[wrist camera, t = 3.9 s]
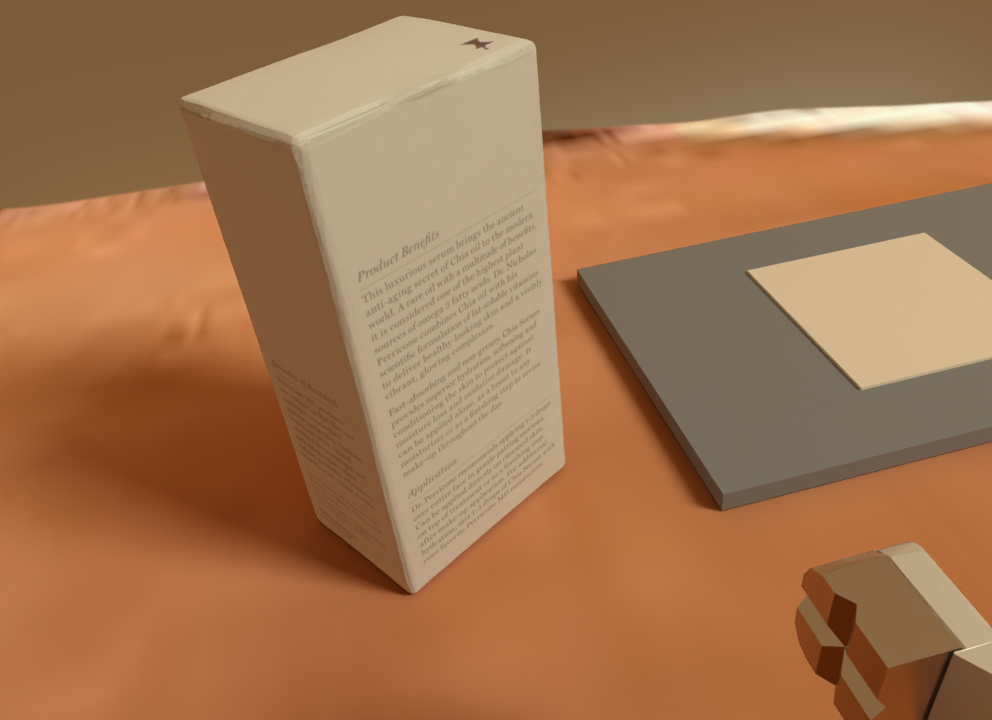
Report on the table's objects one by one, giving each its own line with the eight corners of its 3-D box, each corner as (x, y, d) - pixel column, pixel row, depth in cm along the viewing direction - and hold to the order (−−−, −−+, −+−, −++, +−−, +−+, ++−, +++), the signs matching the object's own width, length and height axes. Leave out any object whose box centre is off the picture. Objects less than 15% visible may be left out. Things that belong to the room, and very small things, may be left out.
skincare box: (464, 408, 27) (406, 9, 20) (569, 469, 24) (546, 36, 17) (306, 522, 23) (167, 93, 16) (408, 605, 21) (298, 141, 14)
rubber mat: (721, 510, 22) (723, 491, 22) (577, 283, 32) (577, 267, 31) (1294, 363, 25) (1306, 344, 25) (1004, 193, 34) (1008, 177, 34)
